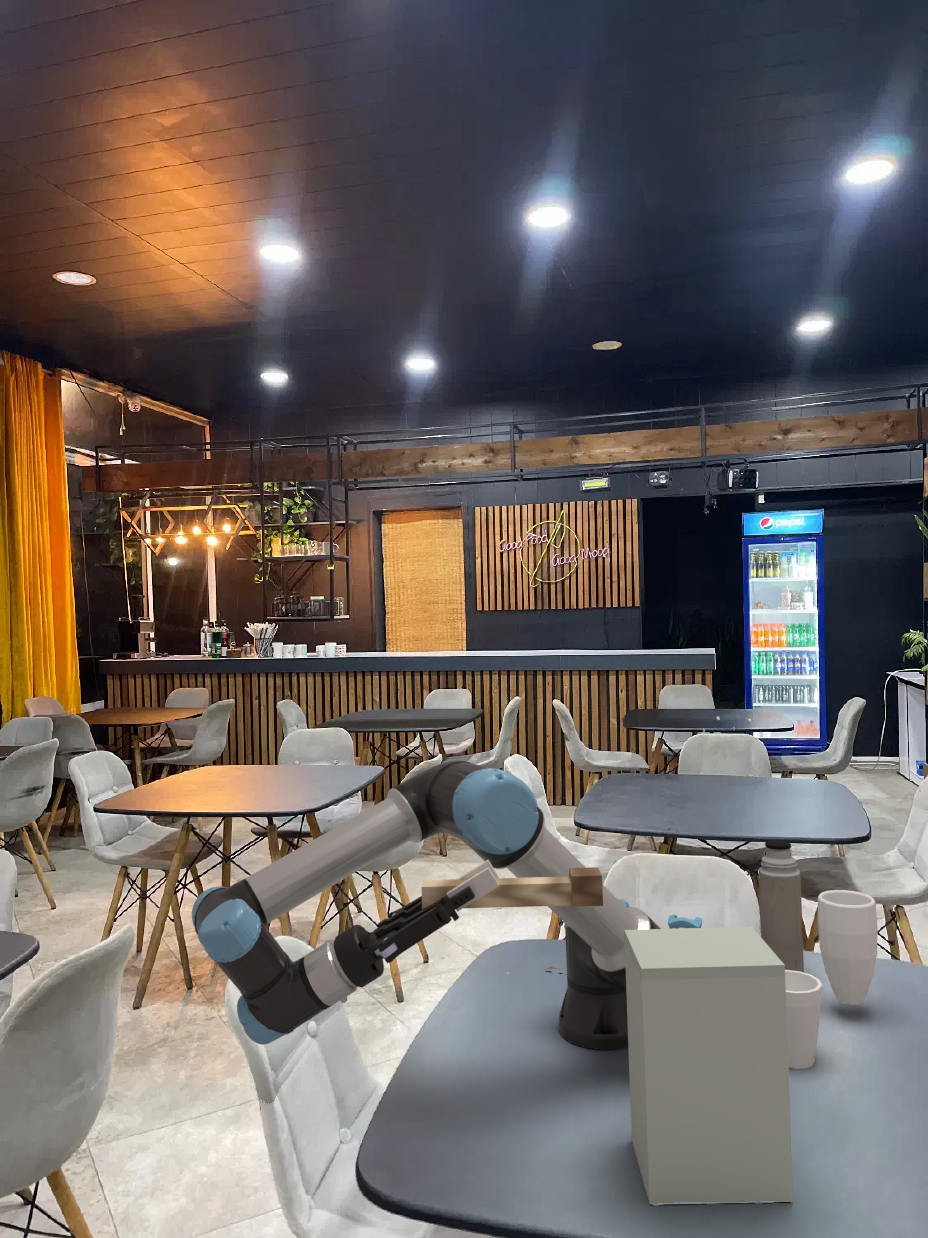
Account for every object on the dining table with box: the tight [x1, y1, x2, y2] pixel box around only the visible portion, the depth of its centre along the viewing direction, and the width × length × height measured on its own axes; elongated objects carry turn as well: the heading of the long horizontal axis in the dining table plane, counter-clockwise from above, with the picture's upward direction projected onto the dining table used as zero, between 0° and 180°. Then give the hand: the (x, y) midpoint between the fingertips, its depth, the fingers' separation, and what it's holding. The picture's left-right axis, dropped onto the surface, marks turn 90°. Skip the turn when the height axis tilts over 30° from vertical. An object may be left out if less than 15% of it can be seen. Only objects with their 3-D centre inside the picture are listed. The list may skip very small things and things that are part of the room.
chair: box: [667, 914, 703, 929], centre depth 186 cm, size 8×8×12 cm
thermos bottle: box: [758, 839, 805, 973], centre depth 179 cm, size 8×8×28 cm
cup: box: [817, 889, 879, 1006], centre depth 163 cm, size 10×10×22 cm
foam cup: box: [785, 970, 824, 1070], centre depth 148 cm, size 10×9×13 cm
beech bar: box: [420, 866, 603, 909], centre depth 120 cm, size 24×4×4 cm, turn 89°
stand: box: [624, 926, 794, 1205], centre depth 120 cm, size 18×14×30 cm
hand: (493, 872), depth 120 cm, fingers closed on beech bar, 3 cm apart
